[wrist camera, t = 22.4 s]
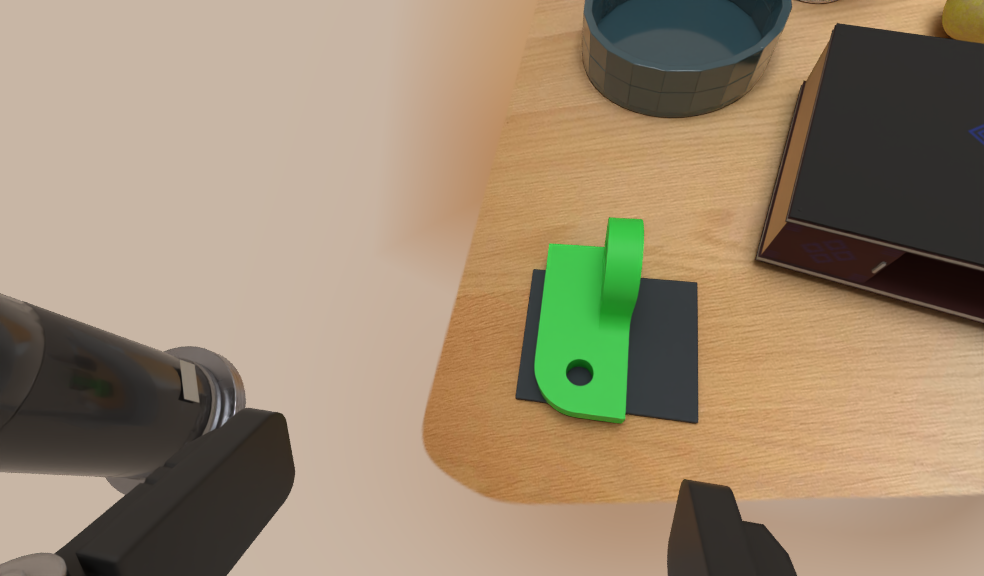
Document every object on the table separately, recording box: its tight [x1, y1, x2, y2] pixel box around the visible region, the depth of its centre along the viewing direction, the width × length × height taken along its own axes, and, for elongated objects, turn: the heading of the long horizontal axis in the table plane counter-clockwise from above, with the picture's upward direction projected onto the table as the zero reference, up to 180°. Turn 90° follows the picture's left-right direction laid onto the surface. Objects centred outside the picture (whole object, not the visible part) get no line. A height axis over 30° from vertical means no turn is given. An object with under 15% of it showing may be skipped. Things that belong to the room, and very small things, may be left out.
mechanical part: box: [535, 218, 644, 424], centre depth 30 cm, size 12×6×8 cm, turn 171°
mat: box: [516, 269, 698, 423], centre depth 34 cm, size 12×10×1 cm
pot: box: [582, 0, 792, 118], centre depth 42 cm, size 16×16×5 cm
